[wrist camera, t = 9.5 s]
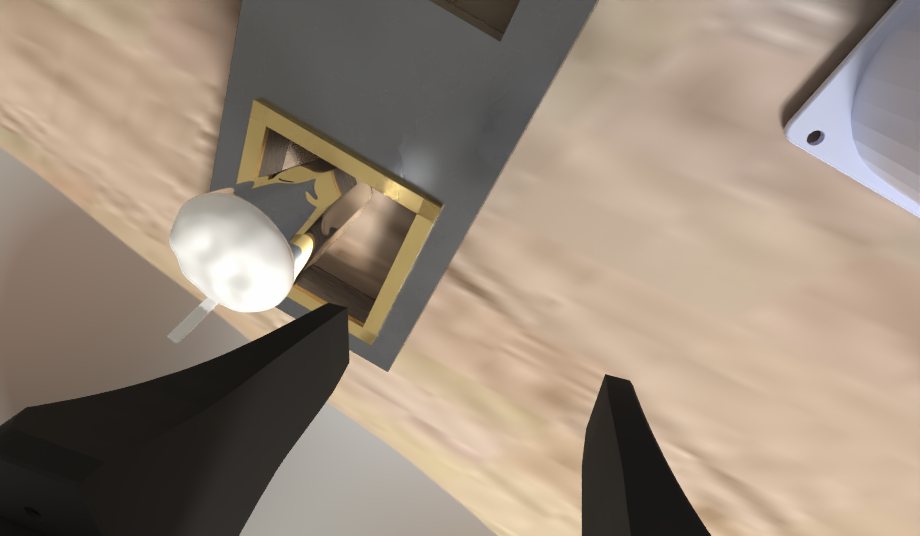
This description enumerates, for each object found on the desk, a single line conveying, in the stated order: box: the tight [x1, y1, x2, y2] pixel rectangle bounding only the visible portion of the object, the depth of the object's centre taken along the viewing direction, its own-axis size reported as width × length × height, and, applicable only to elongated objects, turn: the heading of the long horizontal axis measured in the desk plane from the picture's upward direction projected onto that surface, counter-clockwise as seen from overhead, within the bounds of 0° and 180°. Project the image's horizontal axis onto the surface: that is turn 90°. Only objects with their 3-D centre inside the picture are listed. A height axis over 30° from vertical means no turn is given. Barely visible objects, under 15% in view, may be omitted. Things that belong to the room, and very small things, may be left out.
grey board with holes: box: [210, 0, 599, 372], centre depth 20 cm, size 12×26×2 cm, turn 154°
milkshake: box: [167, 157, 372, 343], centre depth 19 cm, size 4×5×10 cm
